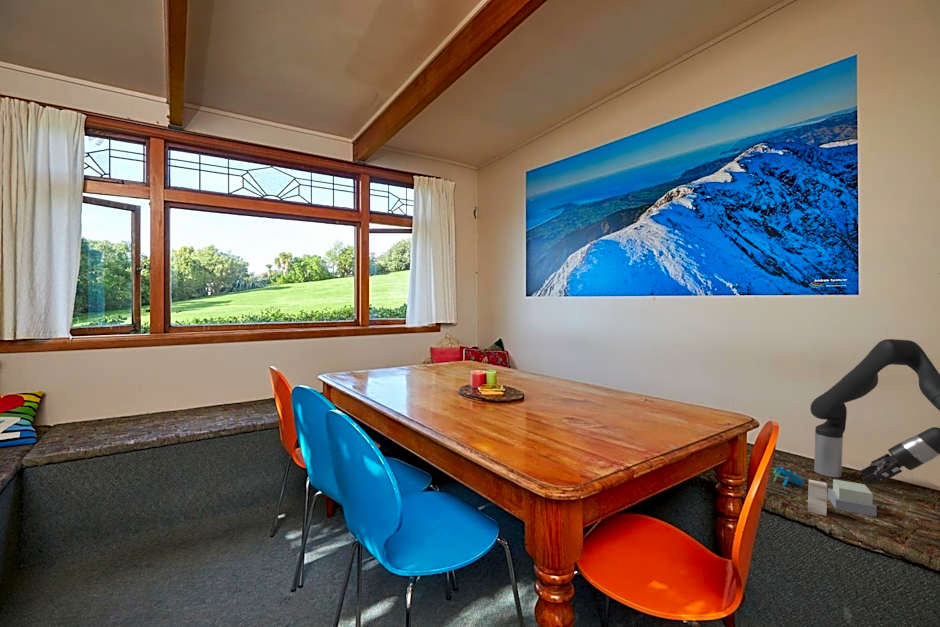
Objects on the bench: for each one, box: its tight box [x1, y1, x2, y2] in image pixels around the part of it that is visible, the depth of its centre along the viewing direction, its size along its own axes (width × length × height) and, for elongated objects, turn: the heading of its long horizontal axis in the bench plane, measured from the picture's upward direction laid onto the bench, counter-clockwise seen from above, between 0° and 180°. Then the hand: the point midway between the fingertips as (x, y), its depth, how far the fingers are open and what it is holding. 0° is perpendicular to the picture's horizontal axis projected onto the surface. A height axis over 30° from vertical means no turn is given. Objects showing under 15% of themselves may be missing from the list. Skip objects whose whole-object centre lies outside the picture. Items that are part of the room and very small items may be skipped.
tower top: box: [832, 479, 874, 505], centre depth 154 cm, size 9×9×4 cm
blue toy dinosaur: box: [772, 466, 805, 487], centre depth 172 cm, size 11×6×10 cm
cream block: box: [807, 479, 828, 517], centre depth 150 cm, size 5×5×10 cm
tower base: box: [827, 487, 878, 518], centre depth 154 cm, size 11×11×4 cm
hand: (863, 478), depth 143 cm, fingers open, 8 cm apart
